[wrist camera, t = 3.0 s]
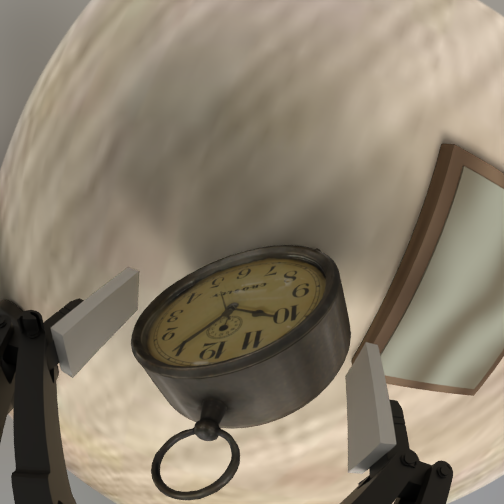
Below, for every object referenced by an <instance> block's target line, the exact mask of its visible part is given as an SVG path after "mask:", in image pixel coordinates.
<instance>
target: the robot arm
mask: <svg viewBox="0 0 504 504" xmlns="http://www.w3.org/2000/svg"><path fill="white" fill-rule="evenodd" d="M138 285H139V271H138V270H135V269H133V268H130V267H127V268H126V269H125V270H123V271H122V272H121V273H119V274H118V275H117V276H115V277H114V278H113V279H111V280H110V281H109V282H107V283H106V284H105V285H103V286H102V287H101V288H100V289H98V290H97V291H96V292H94V293H93V294H92V295H91V296H89V297H88V298H87V299H85V300H82V299H80V298H79V299H76V300H73V301H71V302H69V303H68V304H67V305H65V306H64V308H62V309H60V310H59V312H56V313H55V314H54V315H53V316H51V317H50V318H49V319H48V320H46V321H45V322H44V323H43V320H42V315H41V314H40V313H39V312H37V311H34V310H28V311H24V312H23V311H22V310H21V309H19V308H18V307H17V306H16V305H15V304H13V303H12V302H10V301H8V300H2V301H1V302H0V442H1V437H2V433H3V428H4V425H5V420H6V417H7V414H8V413H9V412H10V411H11V410H12V409H13V408H14V448H15V461H16V470H15V471H14V472H13V473H12V476H11V478H12V488H13V494H14V500H15V504H76V502H75V499H74V497H73V495H72V492H71V488H70V484H69V480H68V475H67V470H66V465H65V460H64V454H63V448H62V441H61V433H60V425H59V416H58V404H57V387H56V379H57V378H58V369H57V364H58V363H59V364H60V367H61V371H63V372H65V373H66V374H68V375H69V376H71V377H72V378H73V377H74V376H75V375H76V374H77V373H78V372H79V371H80V370H81V369H82V367H83V366H84V365H85V364H86V363H87V362H88V361H89V360H90V359H91V358H92V357H93V356H94V355H95V354H96V352H97V351H98V350H99V349H100V348H101V347H102V346H103V345H104V344H105V343H106V342H107V341H108V340H109V339H110V338H111V337H112V336H113V335H114V333H115V332H116V331H117V330H118V329H119V328H120V327H121V326H122V325H123V324H124V323H125V322H126V321H127V320H128V319H129V318H130V317H131V316H132V315H133V314H134V313H135V312H136V311H137V310H138ZM345 377H346V395H347V420H348V473H360V474H363V473H364V472H365V471H367V470H368V469H370V475H369V476H368V477H366V478H365V479H364V480H362V481H361V482H360V483H358V484H359V486H358V487H357V488H356V489H355V490H354V491H353V492H352V493H351V494H350V495H349V496H348V497H347V498H346V499H344V500H343V501H342V502H341V503H340V504H392V503H393V502H394V500H395V502H394V504H446V501H447V498H448V494H449V490H450V486H451V482H452V478H453V470H452V467H451V466H450V465H449V464H448V463H447V462H445V461H438V462H436V463H435V464H434V465H429V464H426V463H423V462H421V461H419V458H418V456H417V454H416V453H415V452H414V451H412V450H410V448H409V442H408V437H407V431H406V426H405V420H404V419H403V418H404V415H403V410H402V408H401V406H400V404H399V403H398V401H395V400H389V395H388V390H387V385H386V380H385V375H384V370H383V366H382V361H381V357H380V352H379V348H378V345H375V344H371V343H367V342H366V343H365V344H364V346H363V348H362V350H361V351H360V353H359V355H358V357H357V358H356V360H355V362H354V363H353V365H352V367H351V368H350V370H349V371H348V373H347V375H346V376H345Z"/></svg>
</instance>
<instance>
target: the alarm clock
mask: <svg viewBox="0 0 504 504" xmlns="http://www.w3.org/2000/svg"><path fill="white" fill-rule="evenodd" d="M350 338H351V331H350V323H349V318H348V312H347V307H346V303H345V298H344V293H343V288H342V284H341V279H340V274H339V270H338V268H337V265H336V264H335V262H334V261H333V260H332V259H331V258H330V257H329V256H327V255H326V254H324V253H322V252H321V251H320V250H319V249H312V248H308V247H303V246H293V245H283V246H270V247H263V248H258V249H253V250H249V251H246V252H242V253H238V254H235V255H232V256H229V257H226V258H223V259H221V260H218V261H216V262H213V263H211V264H209V265H206V266H204V267H203V268H200V269H198V270H197V271H195V272H193V273H191V274H189V275H187V276H185V277H184V278H182V279H181V280H179V281H177V282H176V283H174V284H173V285H171V286H170V287H168V288H167V289H166V290H165V291H163V292H162V293H161V294H160V295H159V296H157V297H156V298H155V299H154V300H153V301H152V302H151V303H150V304H149V305H148V307H147V308H146V309H145V310H144V311H143V313H142V314H141V315H140V317H139V319H138V320H137V322H136V325H135V327H134V330H133V333H132V339H131V346H132V351H133V354H134V356H135V358H136V359H137V361H138V362H139V363H140V364H141V365H142V367H143V368H144V369H145V371H146V372H147V374H148V375H149V376H150V378H151V379H152V381H153V382H154V383H155V385H156V386H157V388H158V389H159V390H160V392H161V393H162V394H163V395H164V397H165V398H166V399H167V401H168V402H169V403H170V404H171V406H172V407H173V408H174V409H175V410H177V411H178V412H179V413H180V414H182V415H183V416H185V417H186V418H188V419H190V420H192V421H195V422H196V424H195V427H194V428H193V429H189V430H185V431H182V432H180V433H178V434H176V435H174V436H173V437H171V438H170V439H169V440H168V441H167V442H166V443H165V444H164V445H163V446H162V447H161V448H160V450H159V451H158V452H157V453H156V454H155V457H154V460H153V462H152V468H151V474H152V479H153V481H154V483H155V485H156V487H157V488H158V489H159V490H160V491H161V492H162V493H163V494H165V495H166V496H169V497H171V498H174V499H179V500H195V499H201V498H204V497H206V496H209V495H211V494H213V493H215V492H217V491H219V490H220V489H221V488H222V487H224V486H225V485H226V484H227V483H228V482H229V481H230V480H231V479H232V478H233V476H234V475H235V473H236V471H237V469H238V466H239V463H240V451H239V447H238V445H237V444H236V442H235V441H234V439H233V437H232V436H231V435H230V434H229V433H227V432H226V431H224V430H222V429H220V428H246V427H253V426H258V425H262V424H266V423H270V422H272V421H275V420H278V419H280V418H283V417H285V416H287V415H289V414H291V413H293V412H295V411H297V410H299V409H300V408H302V407H304V406H305V405H306V404H308V403H309V402H311V401H312V400H313V399H315V398H316V397H317V396H318V395H319V394H320V393H321V392H322V391H323V390H324V389H325V388H326V387H327V386H328V385H329V384H330V383H331V381H332V380H333V379H334V378H335V376H336V375H337V373H338V372H339V370H340V368H341V367H342V365H343V363H344V361H345V358H346V356H347V353H348V350H349V346H350ZM194 434H196V435H197V436H198V437H199V438H200V439H202V440H205V441H213V440H215V439H217V438H218V436H221V437H223V438H225V439H226V440H227V441H228V443H229V445H230V448H231V452H232V457H231V462H230V464H229V466H228V468H227V469H226V471H225V472H224V473H223V475H222V476H221V477H220V478H219V479H218V480H217V481H215V482H214V483H212V484H211V485H209V486H207V487H205V488H203V489H200V490H197V491H189V492H181V491H175V490H173V489H171V488H169V487H168V486H167V485H166V484H165V483H164V482H163V480H162V479H161V475H160V464H161V461H162V459H163V457H164V455H165V453H166V452H167V451H168V450H169V449H170V448H171V447H172V446H173V445H174V444H175V443H177V442H178V441H179V440H181V439H183V438H186V437H188V436H191V435H194Z"/></svg>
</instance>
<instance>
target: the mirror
mask: <svg viewBox="0 0 504 504" xmlns="http://www.w3.org/2000/svg"><path fill="white" fill-rule="evenodd" d="M366 342H367V343H371V344H375V345H378V348H379V352H380V357H381V361H382V366H383V370H384V375H385V380H386V383H387V384H392V385H398V386H404V387H410V388H416V389H423V390H429V391H437V392H445V393H453V394H462V395H473V396H474V395H475V393H476V392H477V391H478V390H479V389H480V387H481V386H482V385H483V384H484V382H485V381H486V380H487V378H488V377H489V376H490V374H491V373H492V372H493V370H494V369H495V368H496V366H497V365H498V364H499V362H500V361H501V359H502V358H503V356H504V173H502V172H501V171H499V170H497V169H496V168H494V167H493V166H491V165H489V164H488V163H486V162H485V161H483V160H481V159H480V158H478V157H476V156H474V155H473V154H471V153H469V152H467V151H466V150H464V149H462V148H460V147H458V146H456V145H454V144H441V148H440V152H439V156H438V159H437V163H436V166H435V170H434V173H433V177H432V180H431V183H430V186H429V189H428V193H427V196H426V199H425V202H424V205H423V207H422V210H421V213H420V216H419V219H418V221H417V224H416V227H415V229H414V232H413V235H412V237H411V240H410V242H409V245H408V247H407V250H406V252H405V255H404V257H403V259H402V262H401V264H400V266H399V269H398V271H397V273H396V275H395V278H394V280H393V282H392V284H391V286H390V288H389V290H388V293H387V295H386V297H385V299H384V301H383V303H382V305H381V307H380V309H379V311H378V313H377V315H376V317H375V319H374V321H373V323H372V325H371V326H370V328H369V330H368V332H367V334H366V336H365V338H364V339H363V341H362V343H361V345H360V346H359V348H358V350H357V352H356V353H355V355H354V357H353V359H352V360H351V361H352V365H353V363H354V362H355V360H356V358H357V357H358V355H359V353H360V351H361V350H362V348H363V346H364V344H365V343H366Z"/></svg>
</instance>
